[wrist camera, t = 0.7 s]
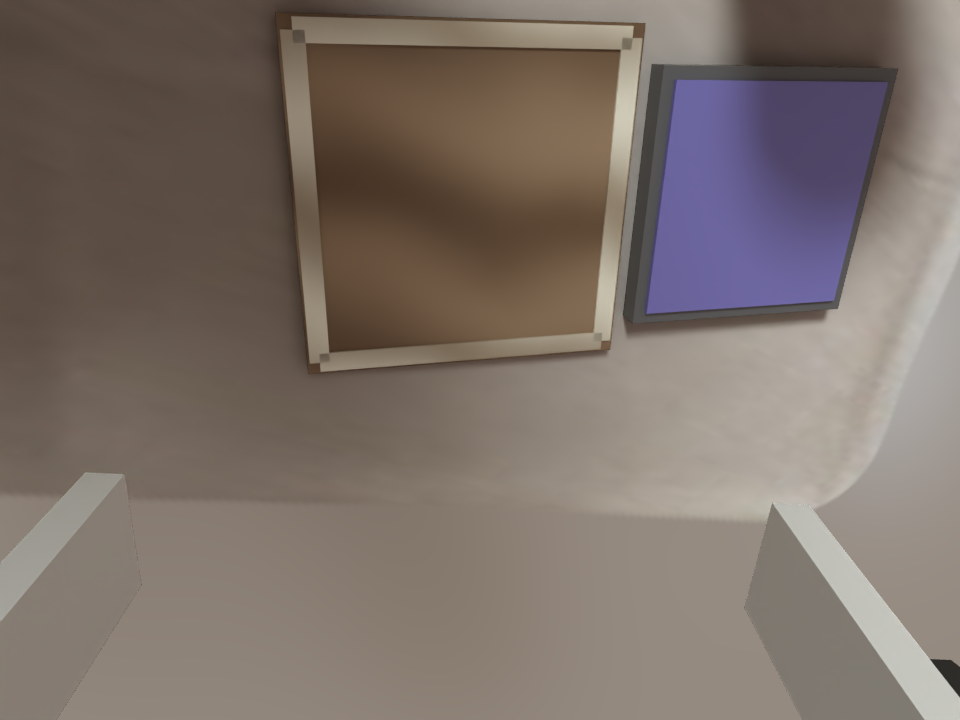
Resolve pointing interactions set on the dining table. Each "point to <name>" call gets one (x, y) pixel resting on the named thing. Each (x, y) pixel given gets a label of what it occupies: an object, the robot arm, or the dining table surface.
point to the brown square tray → (456, 184)
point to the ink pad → (751, 188)
